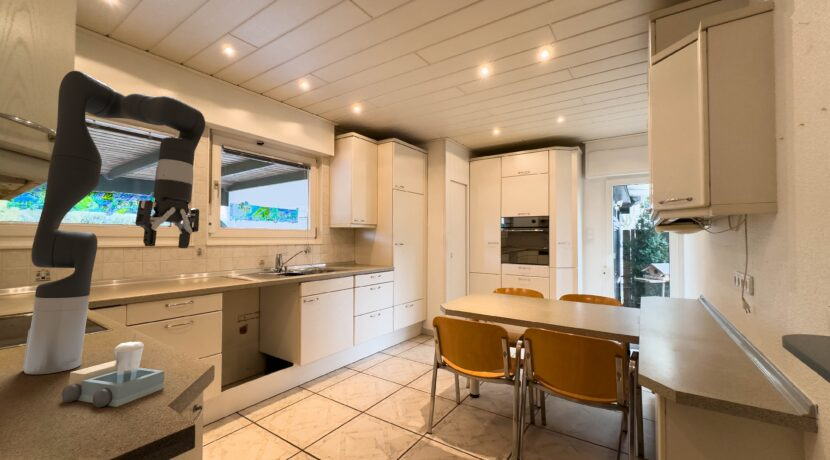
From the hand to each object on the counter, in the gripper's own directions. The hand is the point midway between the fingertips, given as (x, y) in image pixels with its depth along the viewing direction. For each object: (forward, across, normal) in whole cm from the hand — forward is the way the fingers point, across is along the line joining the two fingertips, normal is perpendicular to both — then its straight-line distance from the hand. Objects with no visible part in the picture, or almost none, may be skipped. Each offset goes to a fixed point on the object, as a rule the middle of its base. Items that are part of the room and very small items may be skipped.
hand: (167, 247), depth 80 cm
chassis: (+30, -10, -2) cm, 32 cm away
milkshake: (+29, -9, -4) cm, 31 cm away
